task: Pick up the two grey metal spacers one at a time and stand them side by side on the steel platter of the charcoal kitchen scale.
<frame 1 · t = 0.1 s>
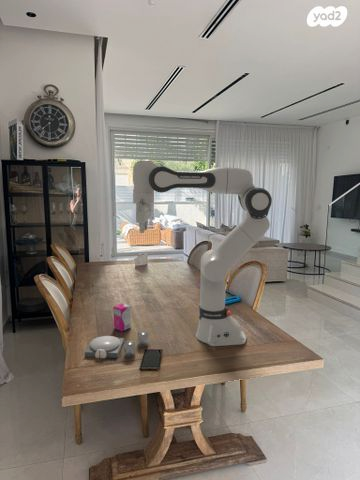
hand: (143, 231, 141), 48 cm above the table, fingers open, 8 cm apart
supplement box: (122, 329, 155), on the table
spacer 2: (142, 344, 140), on the table
scale: (105, 349, 135), on the table
spacer 1: (129, 354, 131), on the table
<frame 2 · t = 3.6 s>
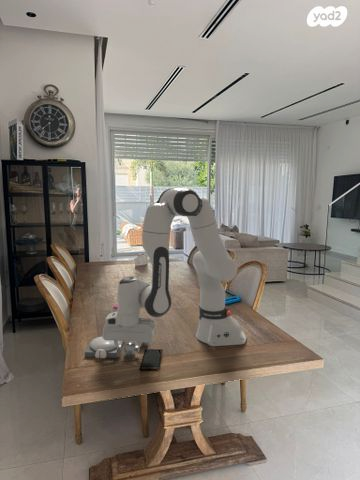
hand: (128, 350, 131), 2 cm above the table, fingers open, 6 cm apart
nothing on the table moved.
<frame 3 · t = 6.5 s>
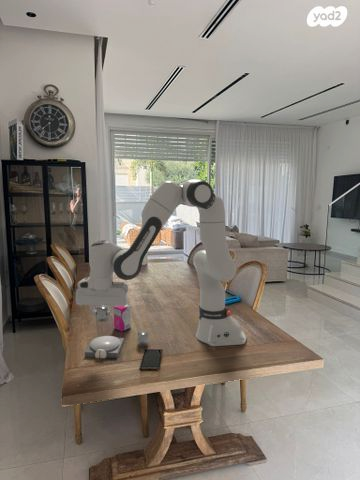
hand: (102, 315, 130), 16 cm above the table, fingers closed on spacer 1, 4 cm apart
spacer 1: (102, 319, 130), point 14 cm above the table, touching gripper
everything else where it was.
when the fingers open (6 cm above the table, at t = 8.5 s): spacer 1 drops 1 cm, resting on scale.
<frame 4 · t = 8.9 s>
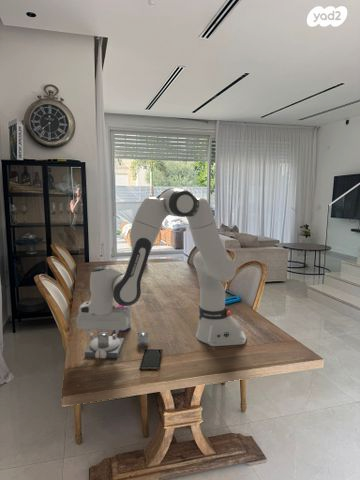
hand: (103, 338, 131), 6 cm above the table, fingers open, 8 cm apart
spacer 1: (103, 345, 132), point 3 cm above the table, touching scale
everything else where it was.
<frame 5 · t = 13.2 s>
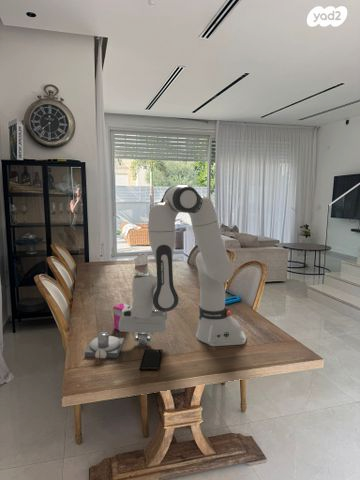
hand: (142, 340, 140), 2 cm above the table, fingers closed on spacer 2, 4 cm apart
spacer 2: (142, 344, 140), on the table, touching gripper
everything else where it was.
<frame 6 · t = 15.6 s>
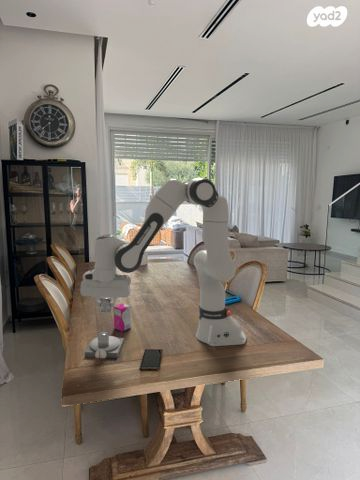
hand: (105, 306, 136), 18 cm above the table, fingers closed on spacer 2, 4 cm apart
spacer 2: (106, 310, 136), point 16 cm above the table, touching gripper
everything else where it was.
when the fingers open (6 cm above the table, at t = 18.0 s): spacer 2 drops 1 cm, resting on scale.
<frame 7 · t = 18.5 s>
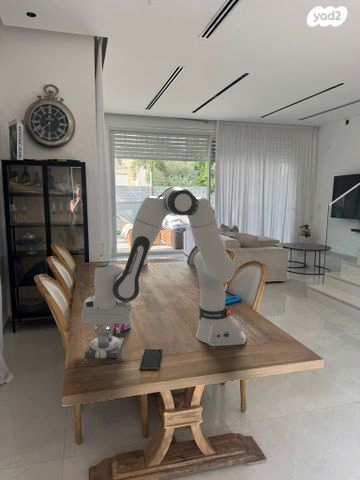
hand: (106, 332, 137), 6 cm above the table, fingers open, 8 cm apart
spacer 2: (107, 339, 138), point 3 cm above the table, touching scale
everything else where it was.
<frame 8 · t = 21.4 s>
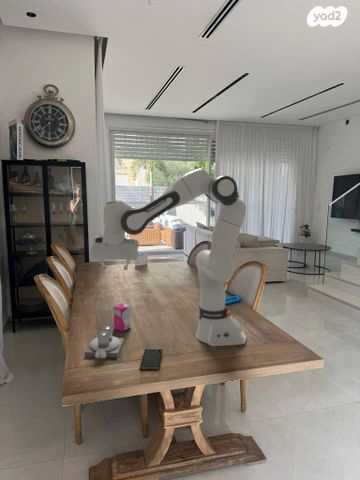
hand: (115, 269, 142), 31 cm above the table, fingers open, 8 cm apart
nothing on the table moved.
at the end: spacer 1 inside the target area (2.9 cm from its centre), point 3.0 cm above the table; spacer 2 inside the target area (3.0 cm from its centre), point 3.0 cm above the table; the gripper is holding nothing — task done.
